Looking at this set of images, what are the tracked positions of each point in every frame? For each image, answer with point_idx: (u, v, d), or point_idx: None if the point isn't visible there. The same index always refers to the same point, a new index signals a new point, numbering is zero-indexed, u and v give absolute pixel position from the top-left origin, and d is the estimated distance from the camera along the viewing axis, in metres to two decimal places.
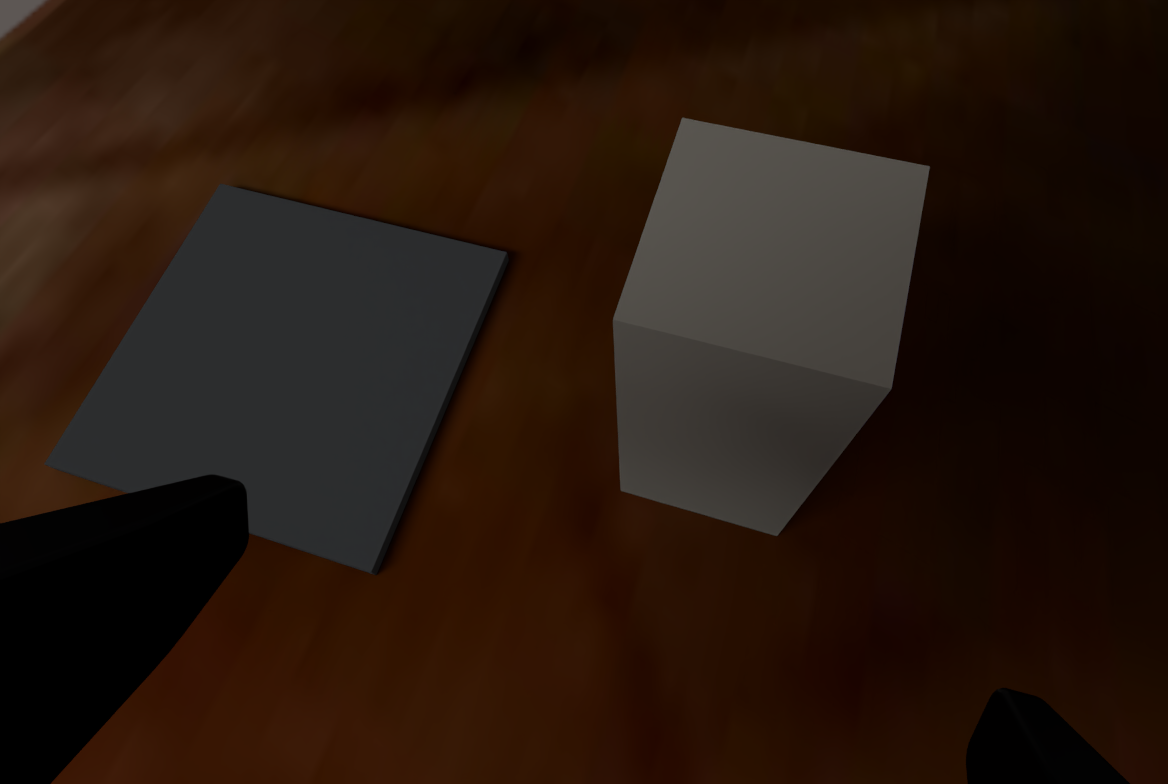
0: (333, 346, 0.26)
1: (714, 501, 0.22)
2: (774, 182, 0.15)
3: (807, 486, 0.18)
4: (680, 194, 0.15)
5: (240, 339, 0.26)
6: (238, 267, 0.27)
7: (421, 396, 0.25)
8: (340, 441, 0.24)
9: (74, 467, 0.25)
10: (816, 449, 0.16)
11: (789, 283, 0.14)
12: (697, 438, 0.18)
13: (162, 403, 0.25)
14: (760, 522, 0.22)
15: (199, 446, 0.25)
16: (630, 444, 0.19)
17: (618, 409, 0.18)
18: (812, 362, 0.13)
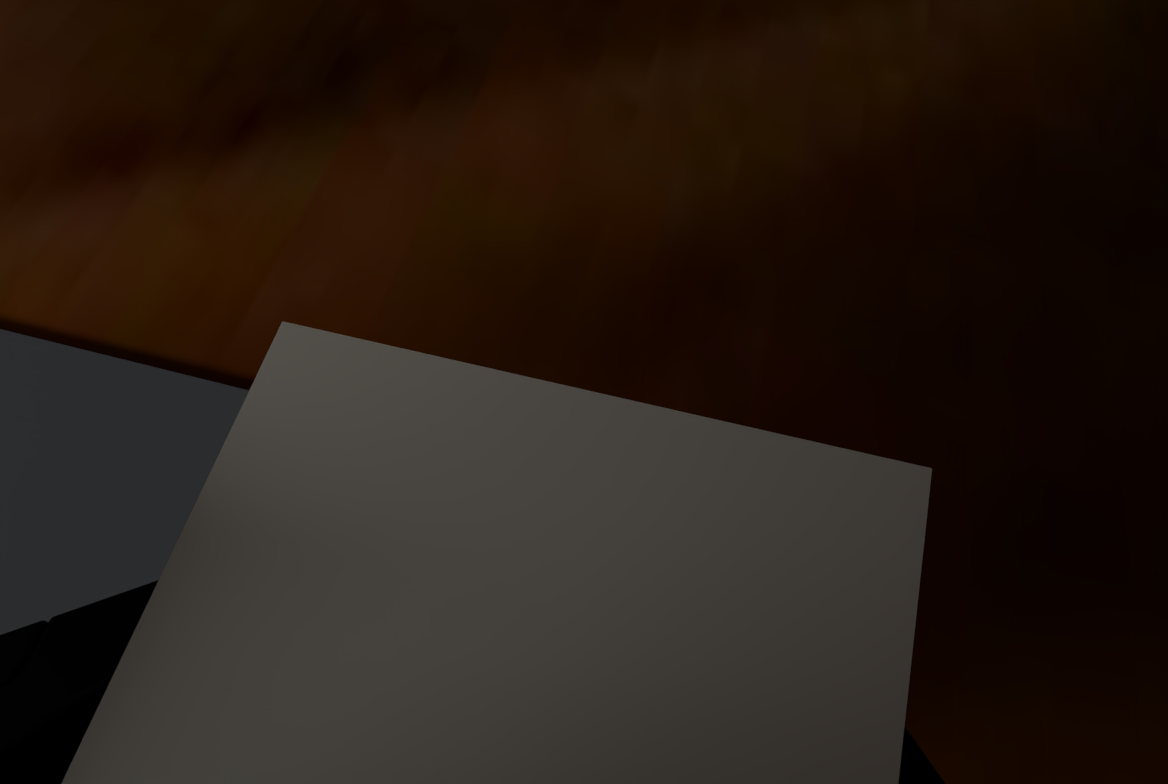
0: None
1: None
2: (492, 528, 0.05)
3: None
4: (229, 572, 0.05)
5: None
6: None
7: None
8: None
9: None
10: None
11: None
12: None
13: None
14: None
15: None
16: None
17: None
18: None
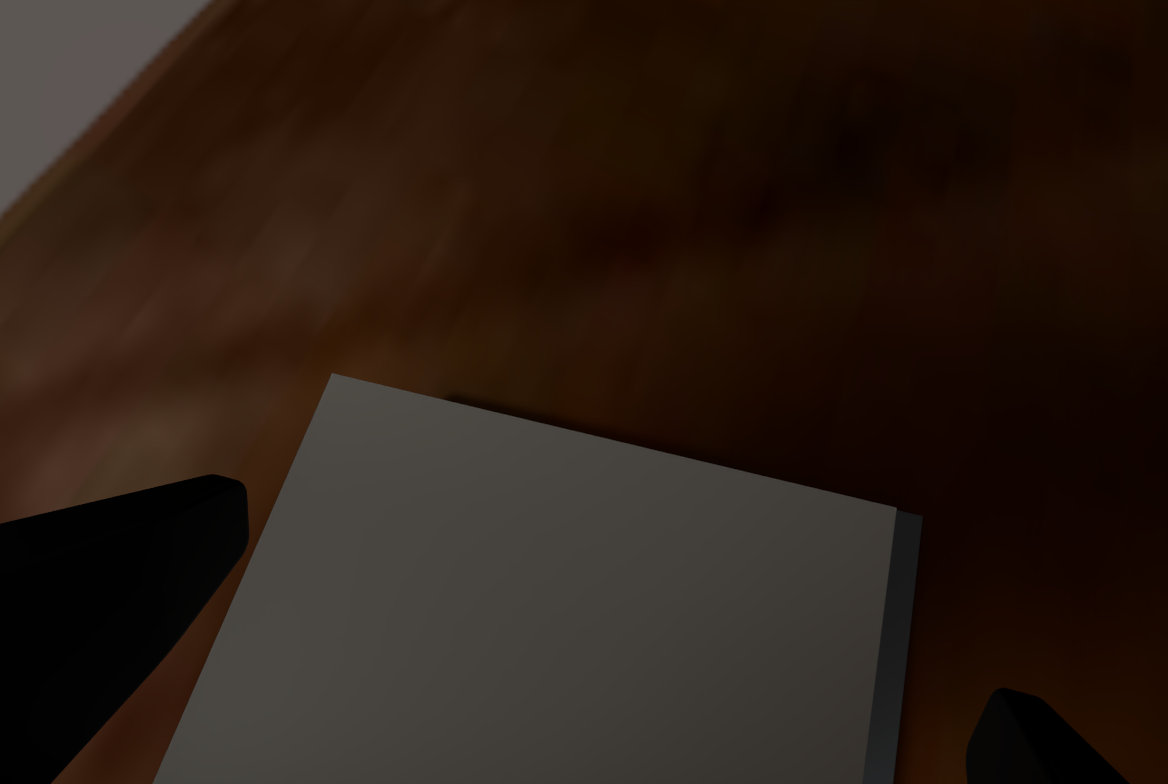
0: None
1: None
2: (518, 558, 0.06)
3: None
4: (293, 594, 0.06)
5: None
6: None
7: None
8: None
9: None
10: None
11: None
12: None
13: None
14: None
15: None
16: None
17: None
18: None
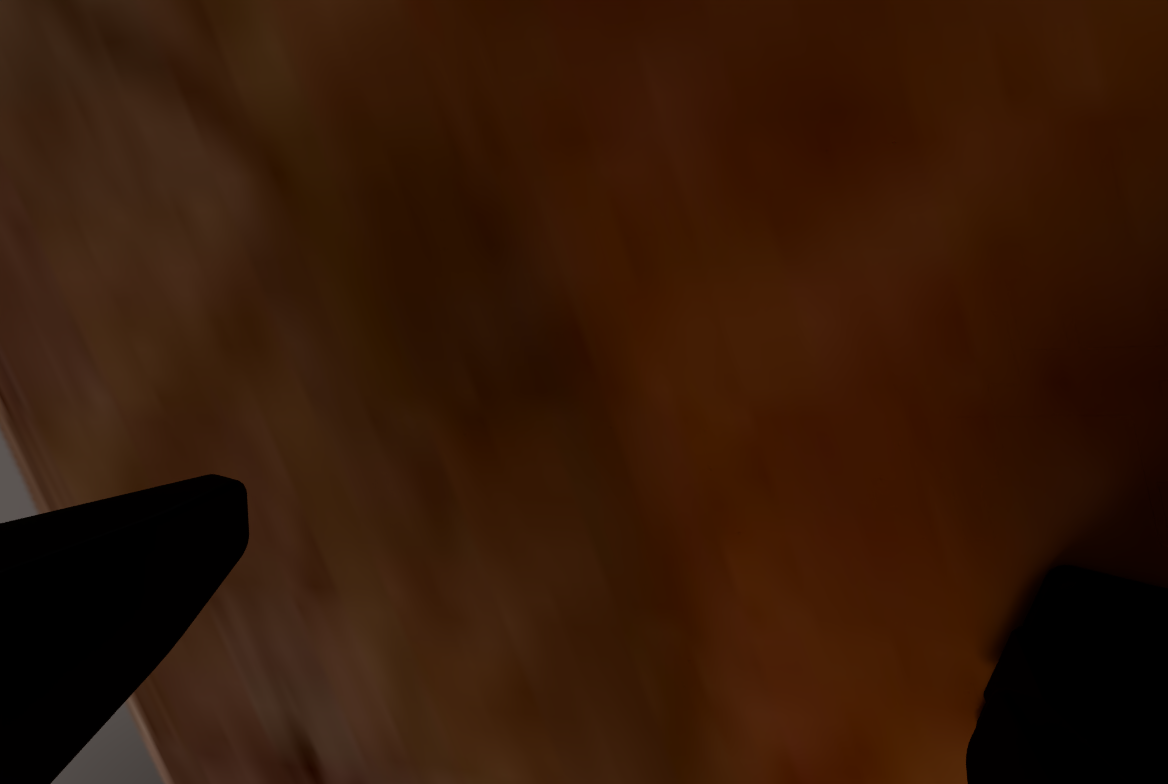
0: None
1: None
2: None
3: None
4: None
5: None
6: None
7: None
8: None
9: None
10: None
11: None
12: None
13: None
14: None
15: None
16: None
17: None
18: None
